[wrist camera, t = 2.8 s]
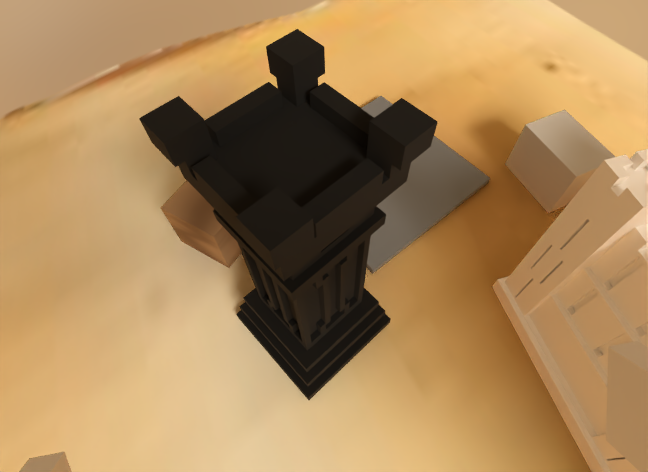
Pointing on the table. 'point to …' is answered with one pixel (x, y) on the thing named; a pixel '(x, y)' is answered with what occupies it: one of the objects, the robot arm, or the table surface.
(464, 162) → the felt mat
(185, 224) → the walnut cube
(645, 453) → the robot arm
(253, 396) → the table surface
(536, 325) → the castle model
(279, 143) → the chess piece
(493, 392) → the table surface
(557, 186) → the grey plastic box
